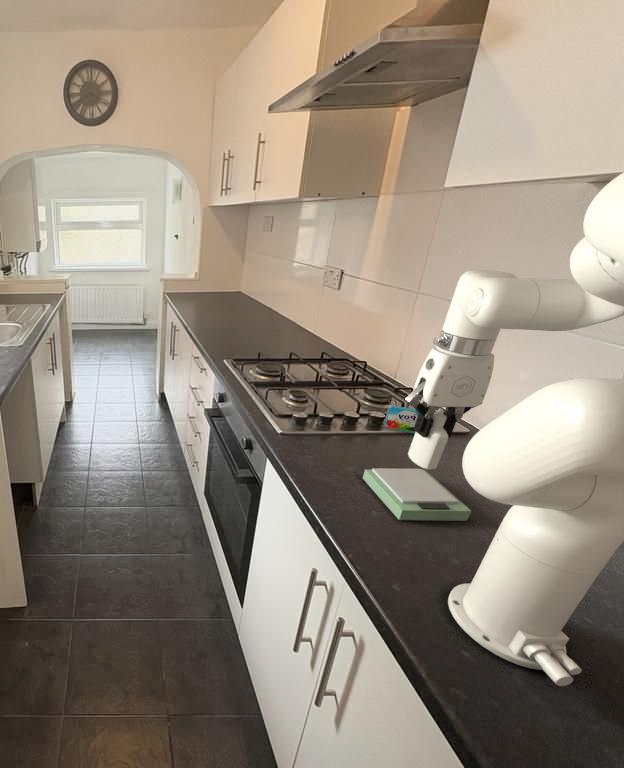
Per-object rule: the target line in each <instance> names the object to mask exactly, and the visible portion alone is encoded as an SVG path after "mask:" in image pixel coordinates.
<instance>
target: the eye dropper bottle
mask: <svg viewBox="0 0 624 768" xmlns="http://www.w3.org/2000/svg"><path fill="white" fill-rule="evenodd" d="M437 409H438V410H436V411H435V412H434V414H433V416H432V419H433V420H434V422H433V425H432V427H431V430H430V433H429V436H428V437H427V438H424V437H422V436H421V435H420V434H418V433H417V432H416V433H415V434H414V436H413V438H412V441H411V444H410V446H409V449H408V452H407V455H408V458H409V459H410V460H411V461H412V463H414V464H415V465H417V466H418V467H420V468H421V469H423V470H436V469H438V465H439V463H440V460H441V458H442V456H443V453H444V451H445V448H446V445H447V443H448V440H449V438H448V434H447V432H446V431H445V429H444V428H443V426H444V424H445V421H446V419H447V417H446V416H445V415H444V414H443V412H445V411H444V410H445V409H444V407H438V408H437Z"/></svg>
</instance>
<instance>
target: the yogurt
mask: <svg viewBox="0 0 624 768" xmlns="http://www.w3.org/2000/svg"><path fill="white" fill-rule="evenodd" d="M418 414H419V413H418V412H417V411H416V409H415V408H409V407H403V406H400V405H392V404H390V405H389V406H388V409H387V412H386V416H385V419H384V422H383V426H384V428H385V429H391V430H395V431H400V432H405V433H410V434H414V435H415V433H416V431H415V430H414V426H415V423H416V420H417V417H418Z"/></svg>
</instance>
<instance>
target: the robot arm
mask: <svg viewBox="0 0 624 768" xmlns="http://www.w3.org/2000/svg"><path fill="white" fill-rule="evenodd" d="M583 218H584V219H583V224H582V229H583V235H584V236H583V237H582V238H581V239H580V240H579V241H578V242H577V243H576V245H575V246H574V247H573V249H572V251H571V253H570V257H569V269H570V273H571V276H572V278H570V279H568V278H567V279H565V278H538V277H537V278H536V277H535V278H532V277H526V278H525V277H518V276H517V275H516V274H513V273H511V272H507V271H502V270H501V271H500V270H492V269H473V270H472V269H471V270H467V271H465V272H463V273H462V274H461V275H460V277H459V279H458V281H457V285H456V287H455V289H454V293H453V295H452V298H451V302H450V305H449V308H448V310H447V313H446V316H445V319H444V322H443V325H442V328H441V331H440V332H439V333H440V334H439V336H435V337H434V338H432V339H433V340H432V343H433V345H435V347H432V349H431V350H430V351H429V353H428V355H427V356H426V358H425V360H424V362H423V364H422V366H421V368H420V370H419V372H418V374H417V376H416V377H417V378H416V380H415V383H414V386H413V390H412V391H411V392H410V393H409V394H408V395H407V396H406V397H405V399H404V401H405V402H406V403H407V404H408V405H410V406H411V407H413V409H415V410H416V411H417V412H418V413H419V414H418V417H417V420H416V423H415V426H414V430H415V431H416V432H417V433H418V434H420V435H421V436H422V437H424V438H427V437H428V436H429V433H430V430H431V427H432V425H433V422H434V420H433V419H432V416H433V414H434V412H436V411H437V409H438V408H445V409H444V410H445V411H444V412H443V414H444V415H445V416H446V417H447V419H446V421H445V424H444V426H443V428H444V429H445V431H446V432H447V434H448V439H449V438H451V436H452V433H453V431H454V428H455V426H456V424H457V421H458V420H461V419H463V416H464V415H465V414H466V413H468V412H469V411H470V410H472V409H474V408H477V407H479V406H481V405H482V404H483V402H484V399H485V397H486V395H487V392H488V389H489V386H490V382H491V380H492V376H493V372H494V364H495V354H494V353H492V352H493V349H494V347H495V345H496V342H497V339H498V336H499V335H500V332H501V330H523V331H545V332H567V331H574V330H579V329H583V328H587V327H591V326H595V325H598V324H601V323H605V322H608V321H611V320H615V319H618V318H620V317H622V316H624V171H623V172H622V173H620V174H618V176H615V177H614V178H613V179H611V180H610V181H609V182H608V183H607V184H606V185H605V186H604V187H602V189H600V191H598V193H596V195H595V196H594V197H593V199H592V200H591V202H590V204H589V205H588V207H587V209H586V211H585V214H584V216H583ZM461 467H462V472H463V475H464V478H465V480H466V482H467V483H468V485H469V486H470V487H471V488H472V489H473V490H474V491H475V492H476V493H478V494H479V495H481V496H482V497H484V498H486V499H488V500H490V501H493V502H496V503H500V504H503V505H510V506H511V507H510V508H509V509H508V510H507V512H506V514H505V516H504V517H503V519H502V520H501V523H500V525H499V527H498V529H497V531H496V532H495V534H494V537H493V538H492V540H491V542H490V544H489V546H488V548H487V550H486V552H485V555H484V556H483V558H482V560H481V563H480V564H479V566H478V569H477V571H476V572H475V575H474V577H473V578H472V581H471V582H470V583H461V584H458V585H456V586H455V587H453V588H452V589H451V591H450V593H449V595H448V597H447V605H448V610H449V611H450V614H451V616H452V617H453V619H454V620H455V622H456V623H457V624H458V625H459V627H460V628H461V629H462V630H463V631H464V632H465V634H467V635H468V636H469V637H470V638H471V639H473V640H474V641H475V642H476V643H477V644H479V645H480V646H481V647H483V648H484V649H486V650H487V651H489V652H490V653H492V654H494V655H495V656H497V657H499V658H502V659H503V660H505V661H507V662H510V663H513V664H515V665H517V666H520V667H524V668H528V669H533V670H540V671H543V672H544V673H545V674H546V675H547V676H548V677H549V678H550V680H552V682H553V683H554V684H555V685H556V686H558V687H566V686H569V685H571V684H572V683H573V682H574V677H572V676H576V675H579V674H580V673H582V668H581V667H580V666H579V665H578V664H577V663H576V662H575V661H574V659H572V658H571V657H569V656H568V654H567V646H566V645H567V643H568V642H569V641H570V637H568V636H567V634H565V633H564V632H563V628H564V627H565V625H566V624H567V622H568V621H569V619H571V617H572V615H573V613H574V612H575V610H576V609H577V608H578V606H579V604H580V603H581V602H582V601H583V599H584V597H585V595H586V594H587V593H588V591H589V590H590V588H591V586H592V585H593V584H594V582H595V581H596V579H597V577H598V576H599V575H600V573H601V572H602V571H604V568H605V567H606V565H607V564H608V562H609V561H610V559H611V558H612V557H613V555H614V554H615V553H616V551H617V550H618V549H619V547H620V546H621V545H622V544H623V543H624V378H610V377H579V378H572V379H571V378H570V379H566V380H562V381H558V382H555V383H552V384H548V385H546V386H544V387H542V388H540V389H538V390H537V391H535V392H533V393H531V394H530V395H528V396H527V397H525V398H524V399H523V400H521V401H520V402H518V403H517V404H515V405H514V406H512V407H511V408H510V409H508V410H507V411H505V412H504V413H502V414H500V415H499V416H498V417H496V418H494V419H493V420H491V421H490V422H489V423H487V424H486V425H484V426H483V427H482V428H480V430H478V431H477V432H476V433H475V434H473V436H472V438H471V439H470V440H469V441H468V443H467V444H466V446H465V449H464V452H463V455H462V461H461Z"/></svg>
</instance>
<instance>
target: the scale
mask: <svg viewBox="0 0 624 768" xmlns="http://www.w3.org/2000/svg"><path fill="white" fill-rule="evenodd" d="M362 480H364V482H365V483H366V484H367V485H368V487H369V488H370V489H371V490H372V491H373V492H374V493H375V494H376V496H377V497H378V498H379V499H380V500H381V501H382V502H383V504H384V505H385V506H386V507H387V509H389V511H390V512H391V513H392V514H393V515H394V516H395V517H396V518H397V520H399V521H443V522H445V521H448V522H449V521H452V522H453V521H454V522H455V521H457V522H459V521H460V522H461V521H463V522H464V521H465V522H467V521H468V520H469V517H470V515H471V514H472V510H471V509H470V508H469V507H468V506H467V505H466V504H464V503H463V502H462V501H461V500H460V499H459V498H458V497H456V496H455V495H454V494H453V493H451V491H450V490H448V489H447V488H446V487H445V486H444V485H443V484H442V483H441V482H440V481H438V480H437V479H436V478H435V477H434V476H433V475H432V474H430V473H429V472H428V470H427V469H423V468H387V467H386V468H375V467H374V468H373V467H372V469H368V468H367V469H364V472H363V476H362Z"/></svg>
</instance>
